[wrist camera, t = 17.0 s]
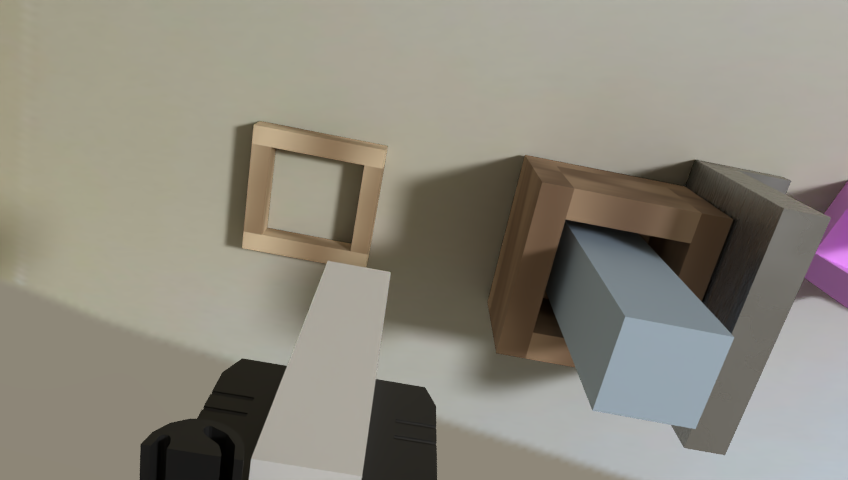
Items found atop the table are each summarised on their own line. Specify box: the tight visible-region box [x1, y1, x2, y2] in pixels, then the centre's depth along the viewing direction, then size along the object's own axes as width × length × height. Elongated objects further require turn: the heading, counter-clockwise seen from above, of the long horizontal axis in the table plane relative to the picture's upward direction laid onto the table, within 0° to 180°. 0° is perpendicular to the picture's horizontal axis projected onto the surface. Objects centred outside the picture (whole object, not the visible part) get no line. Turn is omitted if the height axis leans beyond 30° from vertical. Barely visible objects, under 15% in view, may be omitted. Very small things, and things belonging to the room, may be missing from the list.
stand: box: [242, 121, 388, 267], centre depth 33 cm, size 7×7×1 cm
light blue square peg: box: [545, 220, 734, 429], centre depth 28 cm, size 4×4×12 cm
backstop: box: [671, 160, 831, 455], centre depth 31 cm, size 5×12×9 cm, turn 169°
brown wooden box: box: [487, 155, 733, 367], centre depth 32 cm, size 9×9×6 cm
